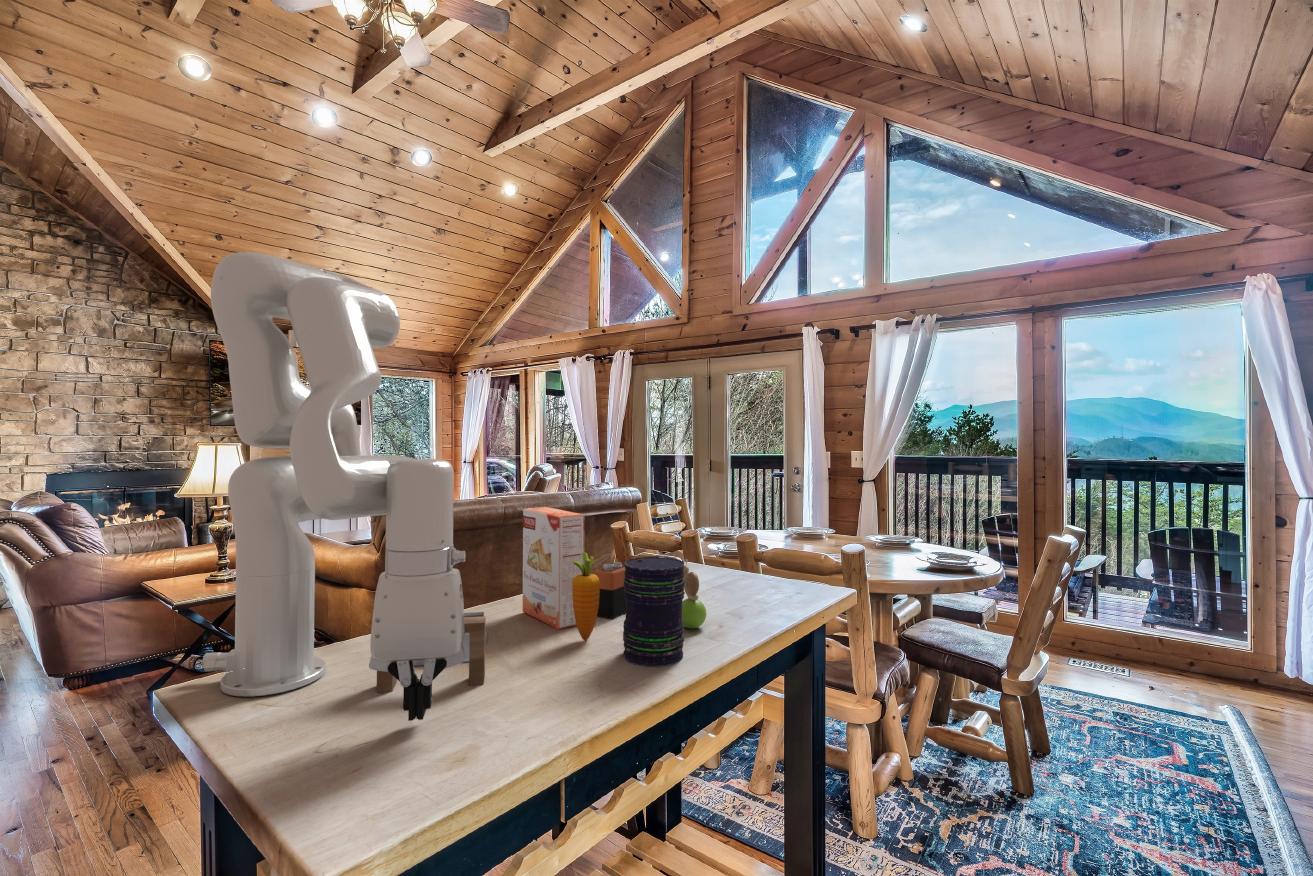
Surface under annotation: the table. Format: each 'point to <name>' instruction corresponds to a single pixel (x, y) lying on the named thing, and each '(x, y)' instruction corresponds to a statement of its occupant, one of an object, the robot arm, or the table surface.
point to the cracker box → (551, 563)
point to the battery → (611, 590)
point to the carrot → (585, 597)
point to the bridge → (476, 656)
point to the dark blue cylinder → (653, 611)
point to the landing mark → (466, 649)
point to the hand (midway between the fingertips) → (417, 714)
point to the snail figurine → (692, 601)
